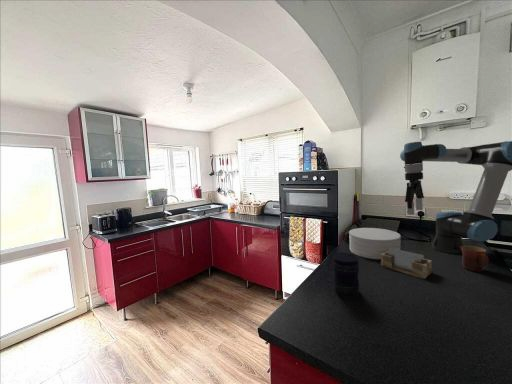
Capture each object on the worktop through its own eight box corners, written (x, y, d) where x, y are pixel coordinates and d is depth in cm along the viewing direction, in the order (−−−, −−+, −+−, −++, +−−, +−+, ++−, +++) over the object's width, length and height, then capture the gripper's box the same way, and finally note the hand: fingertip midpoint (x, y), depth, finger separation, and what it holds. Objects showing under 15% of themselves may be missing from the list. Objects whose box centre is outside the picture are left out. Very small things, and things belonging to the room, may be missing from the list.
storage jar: (348, 300, 82) (347, 263, 81) (329, 289, 91) (327, 256, 90) (364, 293, 87) (363, 258, 86) (344, 283, 96) (344, 251, 95)
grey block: (391, 262, 113) (391, 248, 112) (423, 271, 101) (423, 255, 101) (388, 265, 110) (387, 250, 110) (420, 274, 99) (420, 257, 98)
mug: (455, 265, 107) (455, 245, 106) (476, 265, 105) (476, 245, 104) (474, 276, 95) (475, 254, 95) (498, 277, 94) (498, 254, 93)
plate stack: (399, 247, 136) (399, 229, 136) (401, 263, 113) (401, 242, 112) (352, 242, 151) (352, 226, 151) (346, 255, 128) (345, 236, 127)
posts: (388, 260, 116) (388, 250, 116) (431, 272, 101) (432, 260, 101) (380, 266, 111) (380, 254, 110) (425, 278, 95) (425, 266, 95)
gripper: (413, 171, 120) (414, 207, 121) (396, 174, 105) (398, 216, 106) (429, 170, 114) (431, 208, 115) (414, 173, 99) (416, 217, 100)
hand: (415, 212), depth 111 cm, fingers open, 13 cm apart
